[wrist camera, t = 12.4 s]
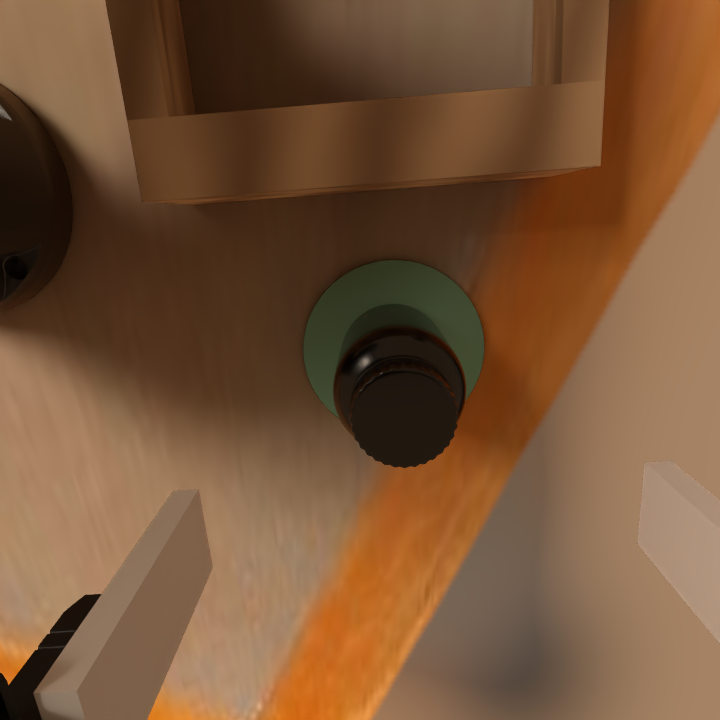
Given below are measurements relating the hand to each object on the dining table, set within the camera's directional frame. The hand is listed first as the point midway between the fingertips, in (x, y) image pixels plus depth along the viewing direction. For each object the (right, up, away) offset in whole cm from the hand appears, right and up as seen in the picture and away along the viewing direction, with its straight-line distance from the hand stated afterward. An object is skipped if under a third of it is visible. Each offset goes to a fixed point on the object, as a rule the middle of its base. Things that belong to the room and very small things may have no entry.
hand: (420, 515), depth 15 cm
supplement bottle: (0, +5, +19) cm, 19 cm away
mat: (0, +5, +19) cm, 20 cm away
